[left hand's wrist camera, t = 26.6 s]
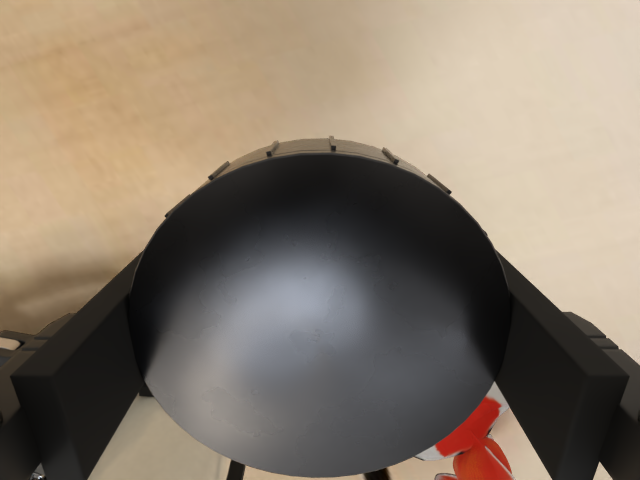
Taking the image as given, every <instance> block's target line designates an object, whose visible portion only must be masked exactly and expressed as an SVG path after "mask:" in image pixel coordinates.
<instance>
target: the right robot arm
mask: <svg viewBox="0 0 640 480" xmlns="http://www.w3.org/2000/svg"><path fill="white" fill-rule="evenodd" d="M35 336H36V335H29V334H24V333H18V332H13V331H2V332H0V367H1V366H2V365H3V364H4V363H6V362H7V361H8V360H9V359H10V358H11V357H12V356H14V355H15V354H16V353H17V352H18V351H22V348H23V347H24V346H25V345H26V344H27V343H28V342H29V341H30V340H34V337H35ZM139 396H146V397H154V396H153V395H152V393H151V392H150V390H149V388H148V386H147V385H146V383H144V384H143V386H142V388H141V389H140V391H139ZM244 471H245V465H244V464H242V463H239V462H236V461H234V460H231V464H230V468H229V472H228V477H227V480H243V476H244ZM28 480H47V479H46V476H45V473H44V470H43V468H42V465H41V463H40V464H39V466H38V467H37V469H36V470H35V471H34V473H33V474H32V475H31V477H30V478H29V479H28Z"/></svg>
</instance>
